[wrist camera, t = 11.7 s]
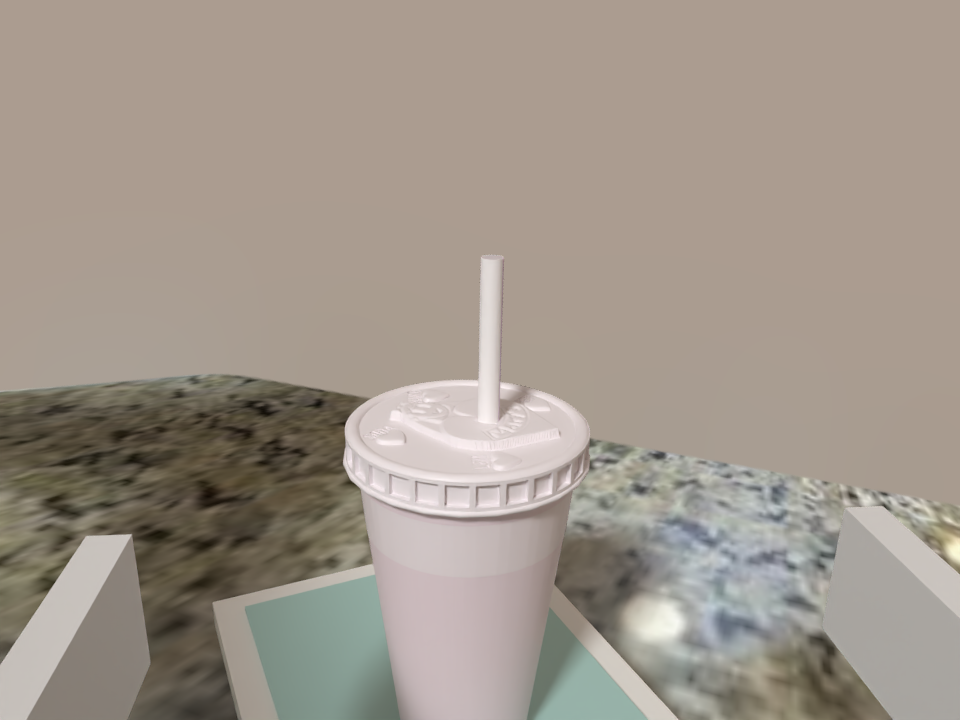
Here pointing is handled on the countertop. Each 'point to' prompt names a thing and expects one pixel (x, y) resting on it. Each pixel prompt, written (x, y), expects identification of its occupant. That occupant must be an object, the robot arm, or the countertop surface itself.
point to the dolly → (366, 664)
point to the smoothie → (466, 526)
